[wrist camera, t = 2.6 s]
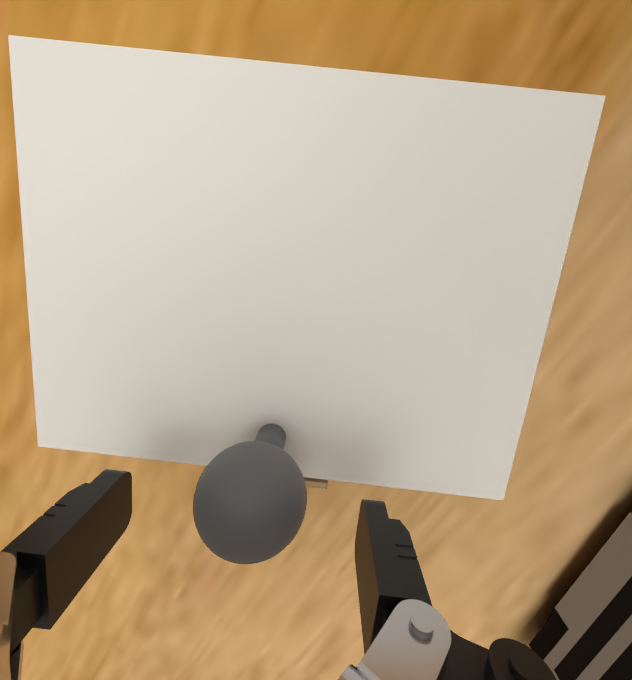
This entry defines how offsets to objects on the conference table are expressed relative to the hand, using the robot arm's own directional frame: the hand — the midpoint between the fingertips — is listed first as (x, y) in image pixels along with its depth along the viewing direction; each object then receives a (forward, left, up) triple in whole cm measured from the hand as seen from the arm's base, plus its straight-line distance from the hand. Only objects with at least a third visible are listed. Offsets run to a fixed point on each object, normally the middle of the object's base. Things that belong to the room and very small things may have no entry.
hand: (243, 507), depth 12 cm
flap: (0, -7, -9) cm, 11 cm away
